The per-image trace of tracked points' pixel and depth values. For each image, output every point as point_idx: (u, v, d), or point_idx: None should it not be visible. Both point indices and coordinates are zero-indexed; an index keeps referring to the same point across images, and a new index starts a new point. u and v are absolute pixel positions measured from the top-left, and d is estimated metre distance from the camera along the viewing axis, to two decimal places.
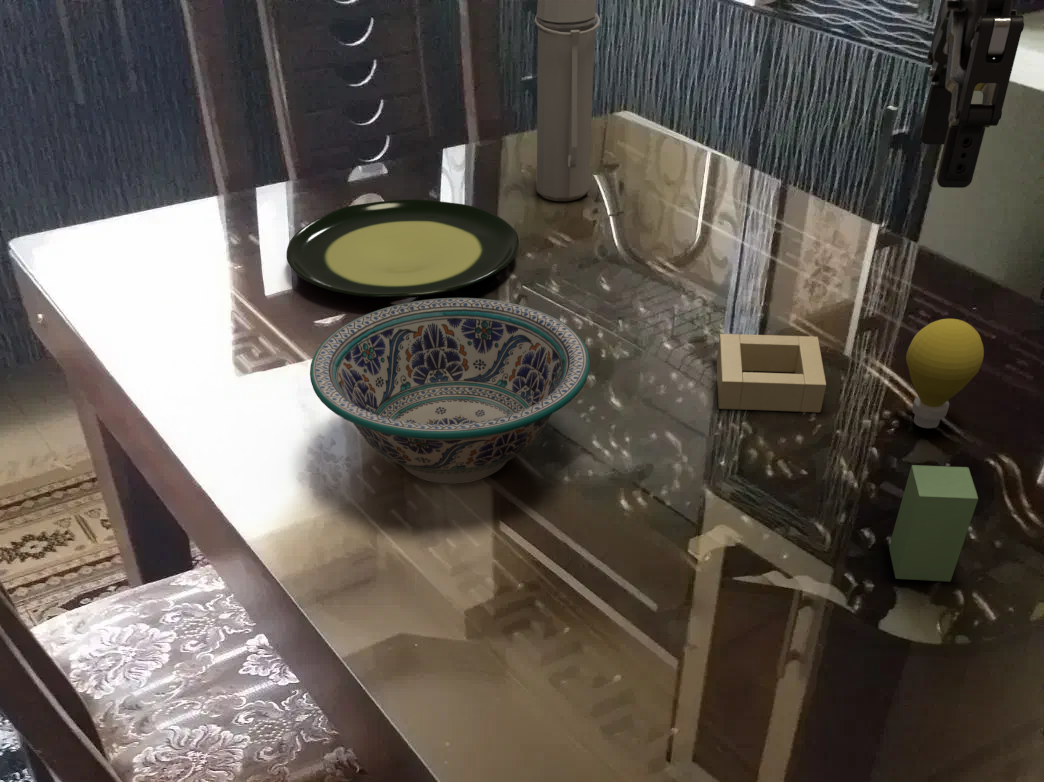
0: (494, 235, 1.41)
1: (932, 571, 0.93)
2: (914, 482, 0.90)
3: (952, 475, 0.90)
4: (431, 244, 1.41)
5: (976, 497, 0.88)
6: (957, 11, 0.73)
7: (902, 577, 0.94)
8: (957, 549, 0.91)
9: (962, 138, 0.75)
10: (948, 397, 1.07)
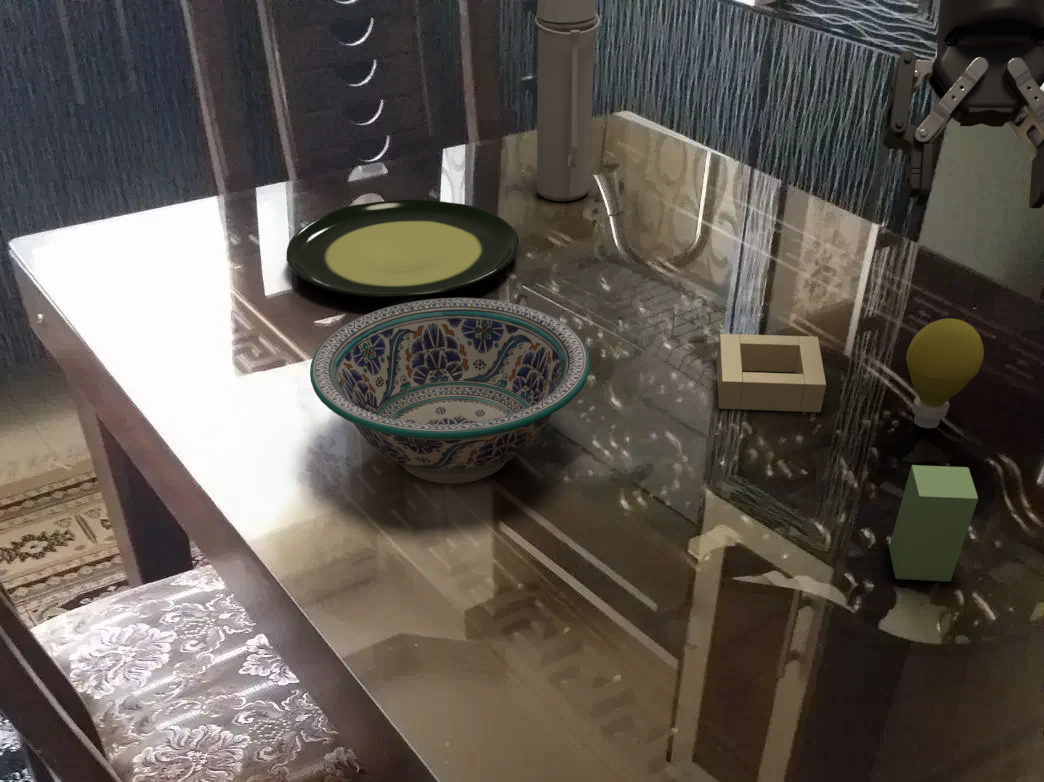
0: (494, 235, 1.41)
1: (932, 571, 0.93)
2: (914, 482, 0.90)
3: (952, 475, 0.90)
4: (431, 244, 1.41)
5: (976, 497, 0.88)
6: None
7: (902, 577, 0.94)
8: (957, 549, 0.91)
9: (909, 159, 0.86)
10: (948, 397, 1.07)
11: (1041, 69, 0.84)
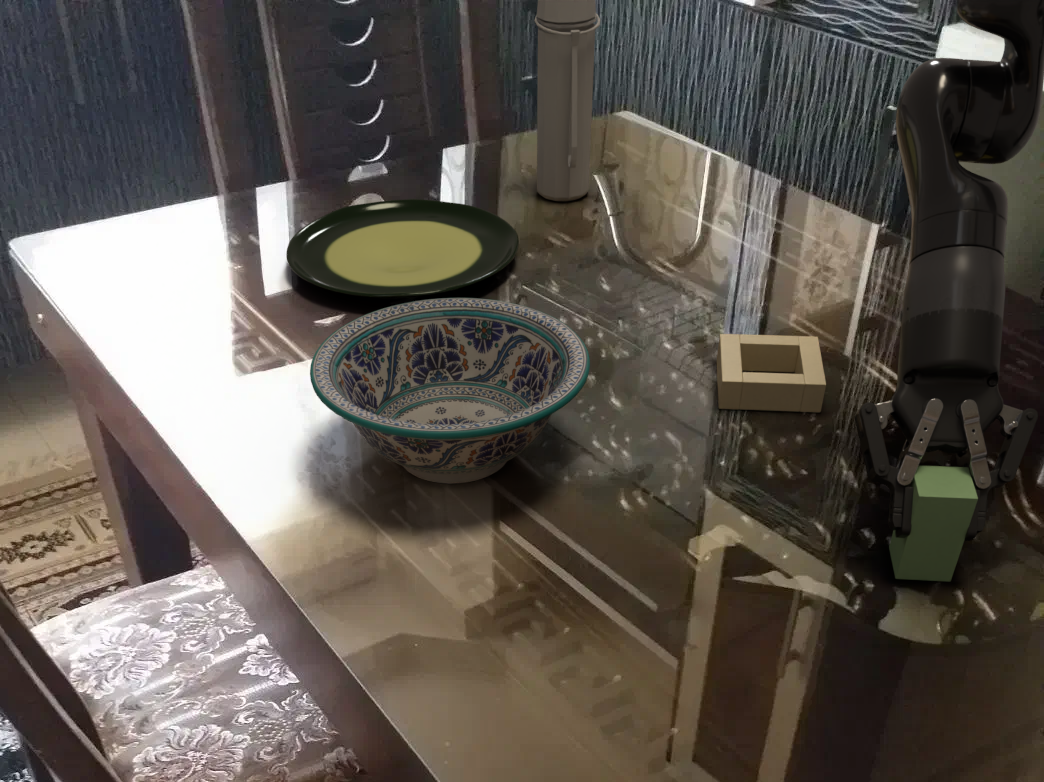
0: (494, 235, 1.41)
1: (932, 571, 0.93)
2: (914, 482, 0.90)
3: (952, 475, 0.90)
4: (431, 244, 1.41)
5: (975, 497, 0.88)
6: None
7: (902, 577, 0.94)
8: (957, 549, 0.91)
9: (891, 495, 0.92)
10: None
11: (991, 409, 0.89)
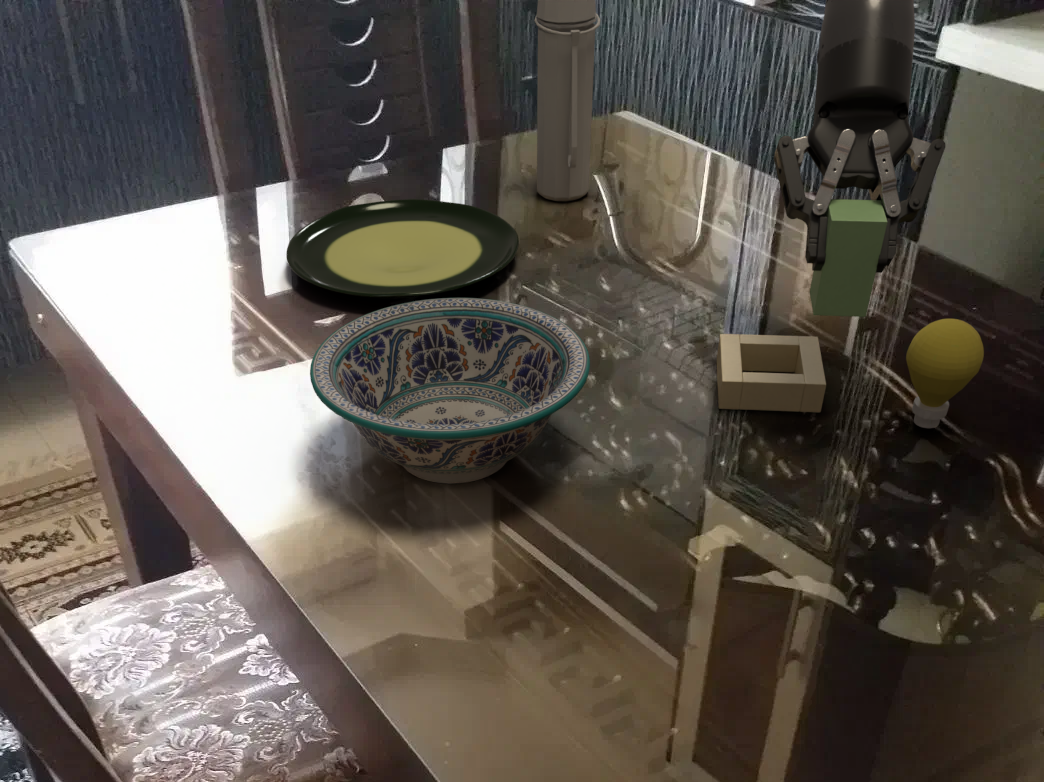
0: (494, 234, 1.41)
1: (847, 305, 0.98)
2: (828, 212, 0.94)
3: (864, 205, 0.94)
4: (431, 244, 1.41)
5: (885, 220, 0.92)
6: None
7: (820, 313, 0.98)
8: (870, 280, 0.96)
9: (808, 229, 0.96)
10: (948, 397, 1.07)
11: (901, 140, 0.94)
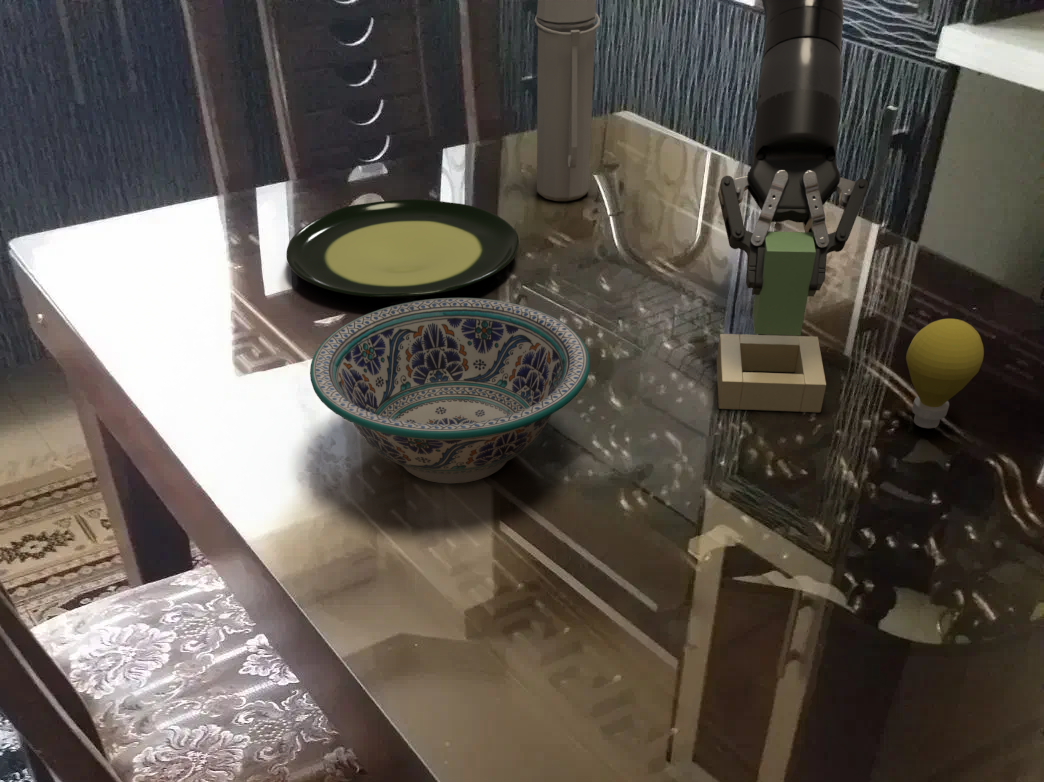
0: (494, 235, 1.41)
1: (784, 325, 1.10)
2: (765, 243, 1.07)
3: (797, 237, 1.07)
4: (431, 244, 1.41)
5: (814, 251, 1.04)
6: None
7: (760, 332, 1.10)
8: (803, 303, 1.08)
9: (748, 258, 1.08)
10: (948, 397, 1.07)
11: (829, 180, 1.06)
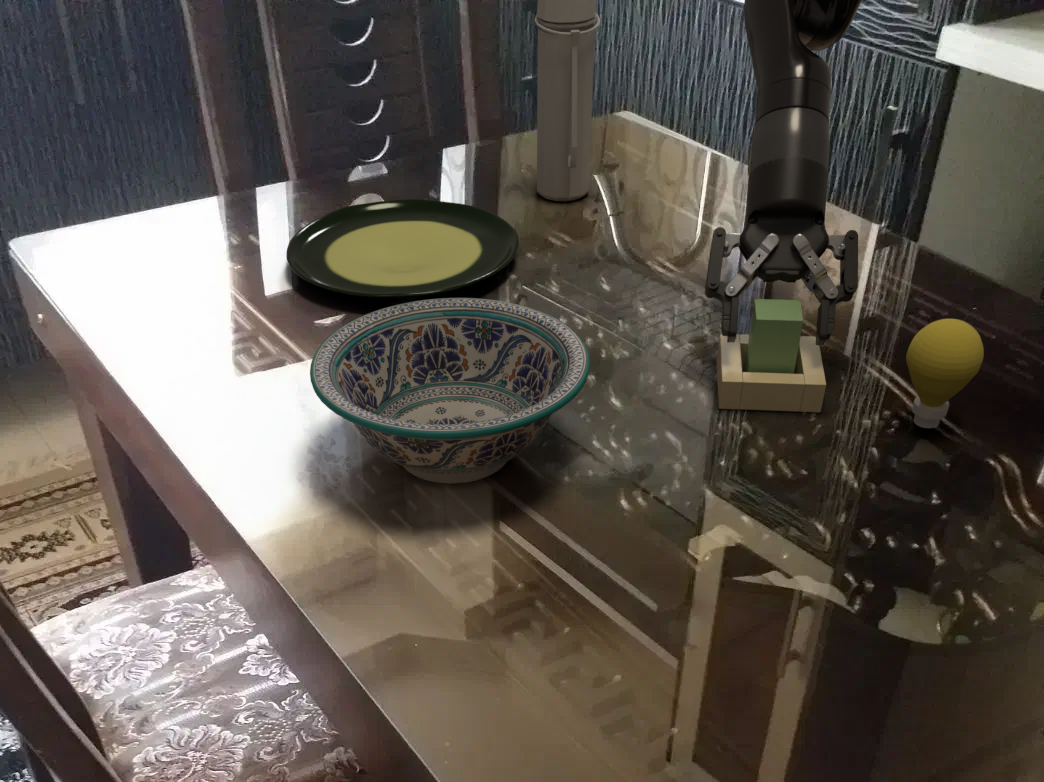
0: (494, 234, 1.41)
1: None
2: (755, 311, 1.11)
3: (786, 305, 1.11)
4: (431, 244, 1.41)
5: (801, 320, 1.09)
6: None
7: None
8: (791, 367, 1.12)
9: None
10: (948, 397, 1.07)
11: (820, 242, 1.10)
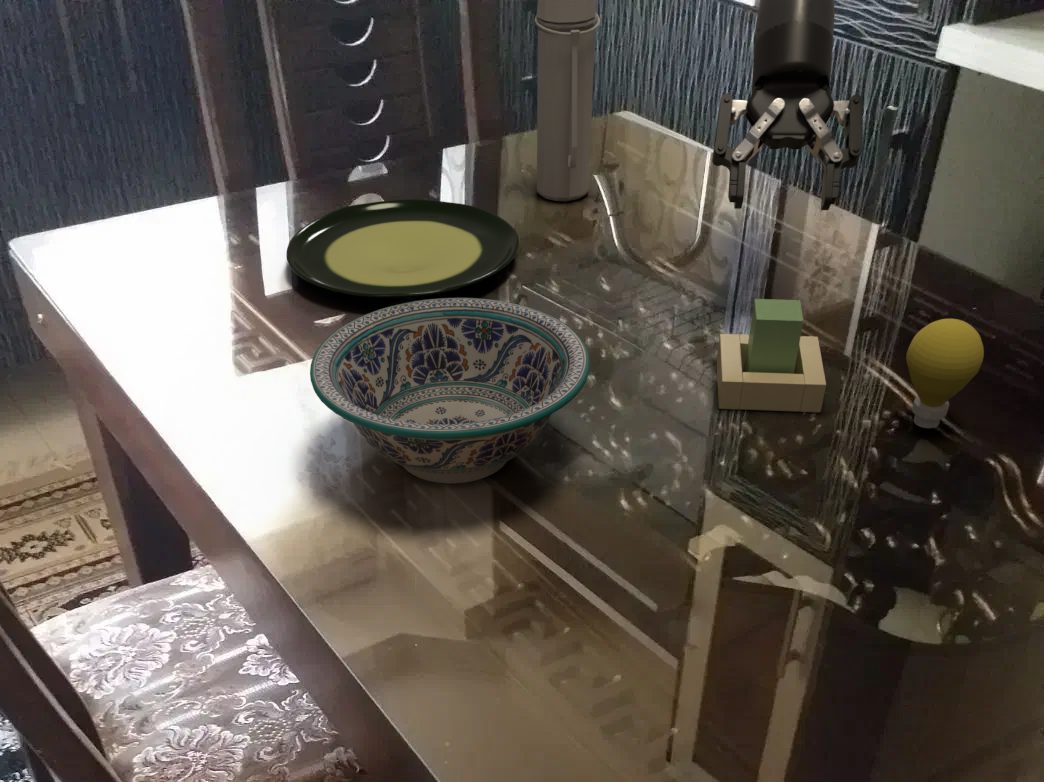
0: (494, 234, 1.41)
1: None
2: (755, 311, 1.11)
3: (786, 305, 1.11)
4: (431, 244, 1.41)
5: (801, 320, 1.09)
6: None
7: None
8: (791, 367, 1.12)
9: (730, 173, 1.15)
10: (948, 397, 1.07)
11: (825, 107, 1.12)
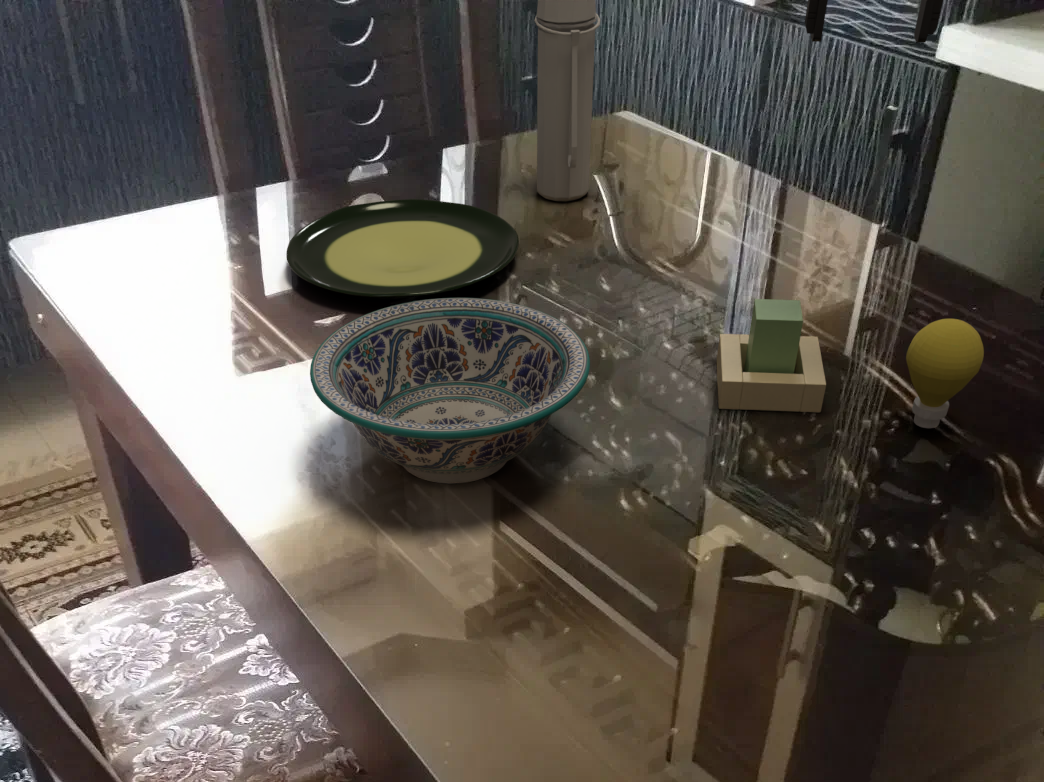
0: (494, 234, 1.41)
1: None
2: (755, 311, 1.11)
3: (786, 305, 1.11)
4: (431, 244, 1.41)
5: (801, 320, 1.09)
6: None
7: None
8: (791, 367, 1.12)
9: None
10: (948, 397, 1.07)
11: None
